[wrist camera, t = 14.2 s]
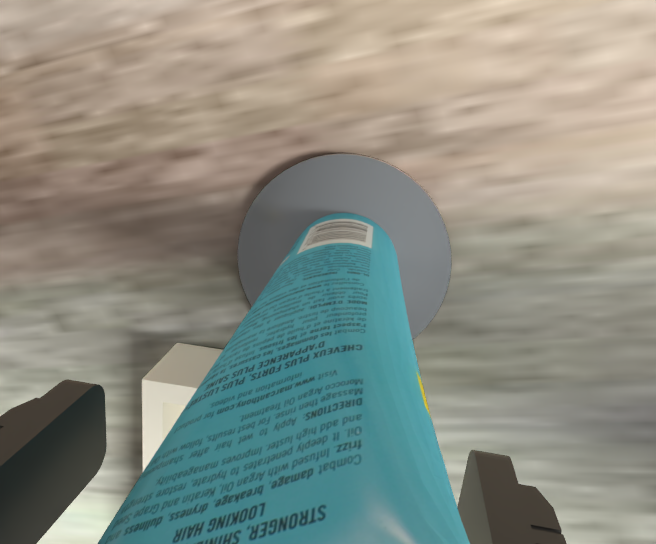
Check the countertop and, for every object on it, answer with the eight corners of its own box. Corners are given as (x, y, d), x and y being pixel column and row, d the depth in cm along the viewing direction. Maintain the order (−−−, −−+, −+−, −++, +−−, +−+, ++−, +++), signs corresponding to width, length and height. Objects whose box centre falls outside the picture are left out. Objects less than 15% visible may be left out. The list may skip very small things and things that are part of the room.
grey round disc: (467, 166, 23) (469, 168, 22) (431, 368, 26) (432, 375, 25) (247, 141, 24) (242, 142, 23) (237, 338, 27) (232, 345, 26)
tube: (308, 339, 26) (84, 890, 8) (253, 257, 25) (-147, 658, 7) (443, 267, 24) (581, 777, 6) (390, 175, 23) (346, 427, 5)
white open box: (374, 373, 27) (370, 416, 23) (347, 563, 31) (339, 627, 27) (177, 342, 28) (141, 379, 24) (174, 530, 32) (143, 587, 28)
